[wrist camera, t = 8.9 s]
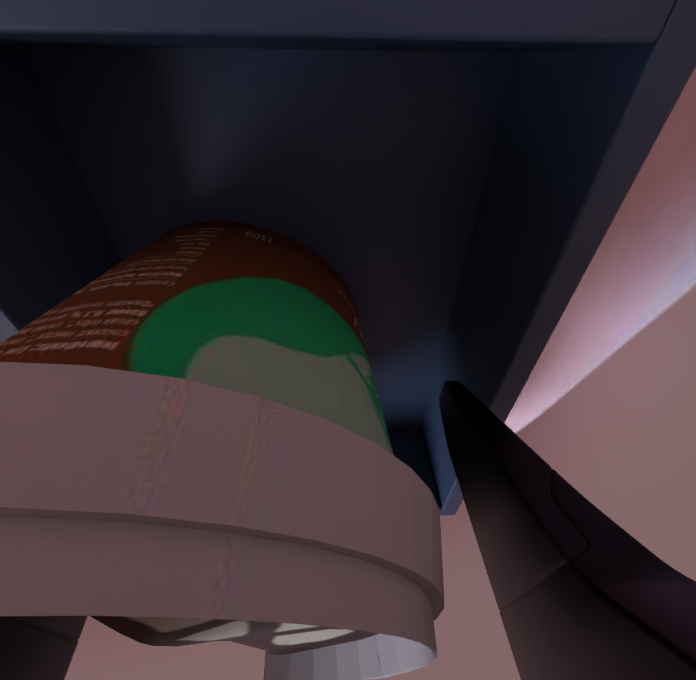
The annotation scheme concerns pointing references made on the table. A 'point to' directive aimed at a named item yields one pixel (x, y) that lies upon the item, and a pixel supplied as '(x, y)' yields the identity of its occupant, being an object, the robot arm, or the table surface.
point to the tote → (344, 161)
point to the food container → (216, 463)
